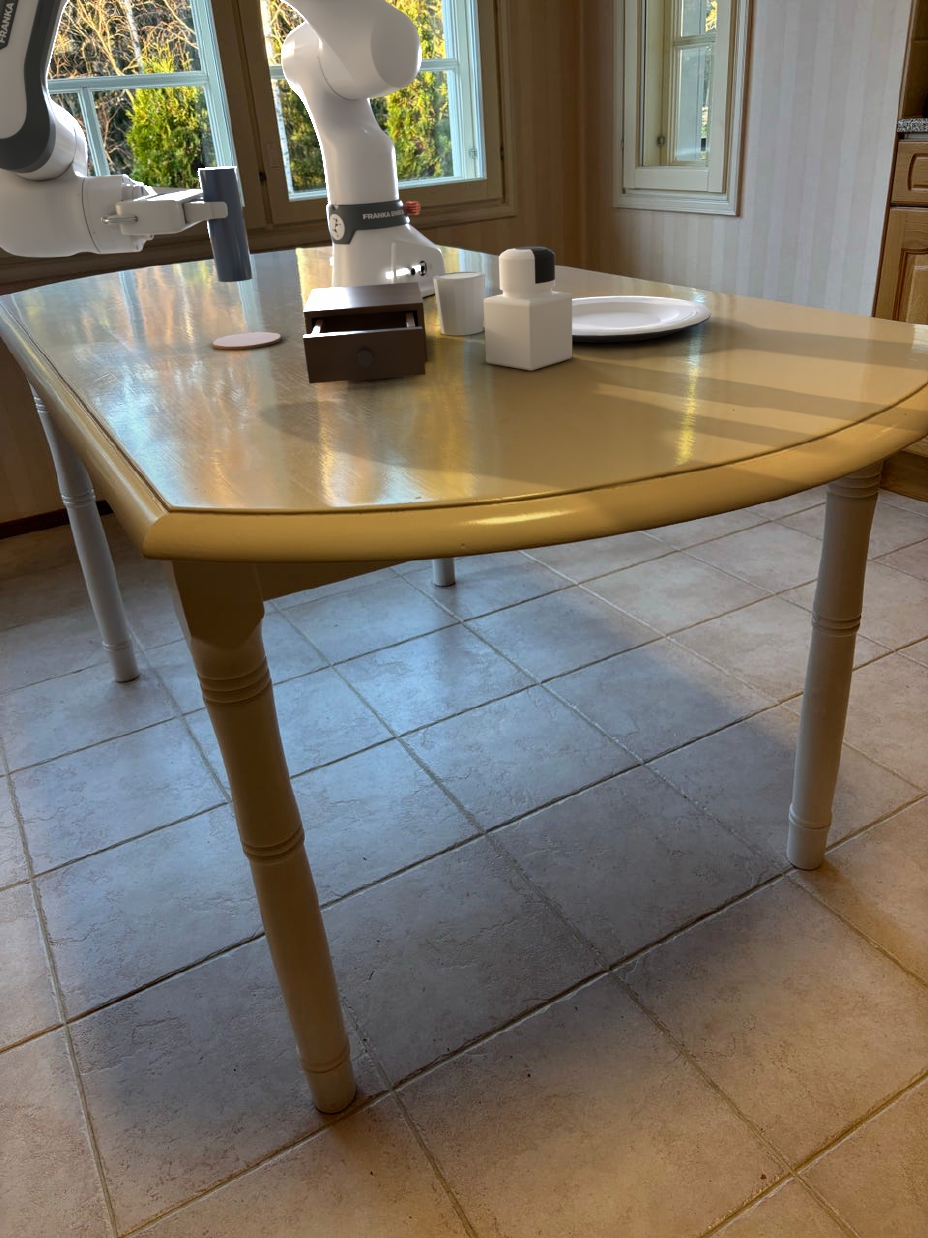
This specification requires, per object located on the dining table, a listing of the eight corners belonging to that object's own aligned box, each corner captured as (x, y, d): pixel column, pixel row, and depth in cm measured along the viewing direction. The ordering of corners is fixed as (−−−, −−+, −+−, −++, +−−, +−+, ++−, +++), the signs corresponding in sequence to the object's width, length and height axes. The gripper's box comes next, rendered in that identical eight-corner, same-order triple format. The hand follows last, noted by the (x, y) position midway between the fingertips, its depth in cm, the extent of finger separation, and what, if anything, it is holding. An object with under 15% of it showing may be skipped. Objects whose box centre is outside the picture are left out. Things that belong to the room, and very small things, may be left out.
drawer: (426, 377, 94) (422, 330, 92) (308, 386, 94) (301, 339, 92) (420, 345, 108) (417, 304, 106) (317, 353, 108) (312, 312, 105)
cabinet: (427, 361, 105) (423, 302, 102) (311, 369, 104) (303, 310, 101) (422, 334, 118) (418, 281, 115) (319, 341, 118) (312, 289, 115)
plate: (649, 302, 129) (650, 288, 128) (750, 333, 108) (752, 317, 107) (486, 323, 123) (485, 308, 122) (559, 359, 102) (559, 342, 101)
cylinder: (241, 275, 119) (223, 166, 113) (260, 277, 116) (243, 166, 110) (210, 280, 117) (191, 169, 110) (229, 283, 114) (210, 168, 107)
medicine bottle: (526, 351, 106) (524, 242, 101) (573, 358, 102) (573, 245, 96) (484, 363, 102) (479, 250, 96) (531, 371, 98) (529, 253, 92)
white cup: (482, 335, 115) (480, 278, 112) (431, 336, 117) (427, 280, 113) (492, 324, 121) (489, 270, 118) (442, 325, 123) (439, 271, 119)
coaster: (257, 332, 126) (256, 329, 126) (294, 339, 120) (293, 336, 120) (200, 344, 121) (200, 341, 120) (236, 352, 115) (236, 349, 115)
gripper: (89, 191, 101) (212, 183, 102) (133, 182, 119) (238, 175, 120) (103, 251, 104) (222, 243, 105) (144, 233, 122) (246, 226, 123)
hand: (231, 207), depth 112 cm, fingers closed on cylinder, 4 cm apart
